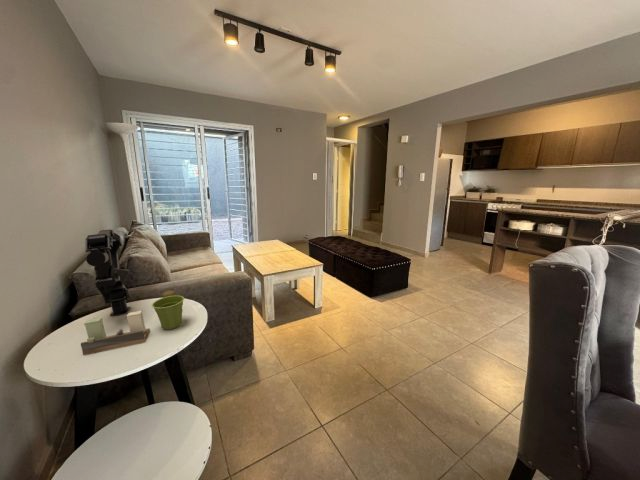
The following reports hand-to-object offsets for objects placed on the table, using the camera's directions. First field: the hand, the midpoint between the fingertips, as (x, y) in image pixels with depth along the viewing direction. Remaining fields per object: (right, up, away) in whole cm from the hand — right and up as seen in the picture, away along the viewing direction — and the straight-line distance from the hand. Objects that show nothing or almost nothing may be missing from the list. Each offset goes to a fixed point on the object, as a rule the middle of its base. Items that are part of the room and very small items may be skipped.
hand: (107, 300), depth 108 cm
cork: (+21, -9, +12) cm, 25 cm away
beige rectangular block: (+18, -12, -7) cm, 22 cm away
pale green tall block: (+6, -13, -11) cm, 18 cm away
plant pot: (+27, -11, +2) cm, 29 cm away
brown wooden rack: (+12, -14, -10) cm, 21 cm away
